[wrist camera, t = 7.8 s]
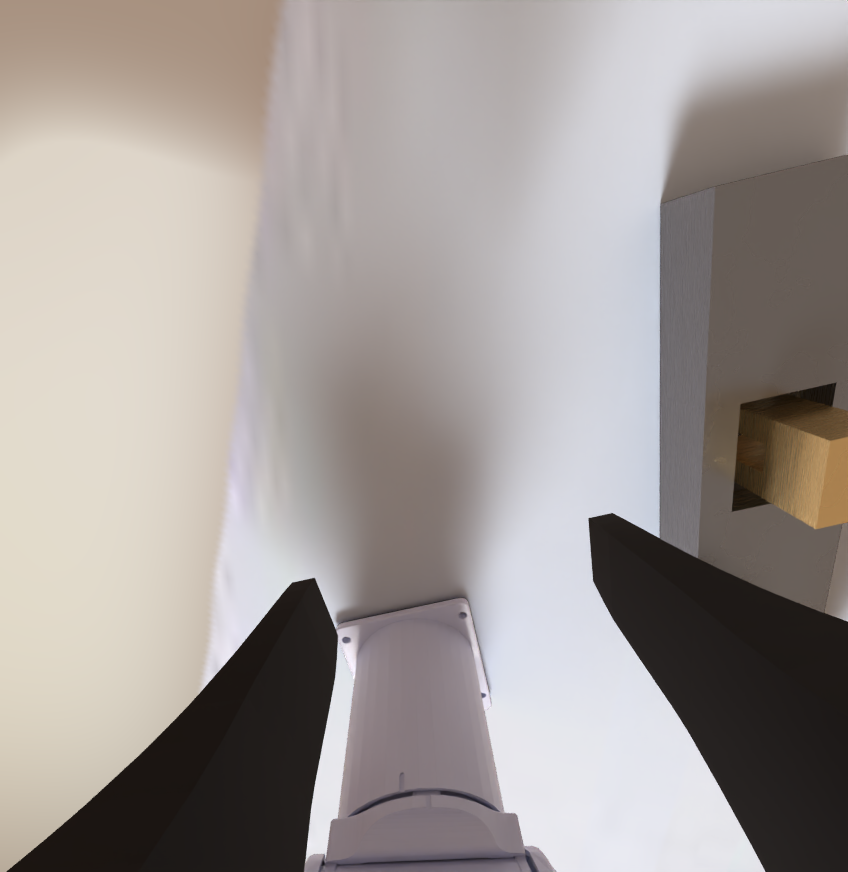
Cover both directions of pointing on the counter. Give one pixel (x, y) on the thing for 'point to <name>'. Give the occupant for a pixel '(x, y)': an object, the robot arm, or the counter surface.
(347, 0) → the counter surface
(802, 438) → the tan wooden block
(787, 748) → the robot arm
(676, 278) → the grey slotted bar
